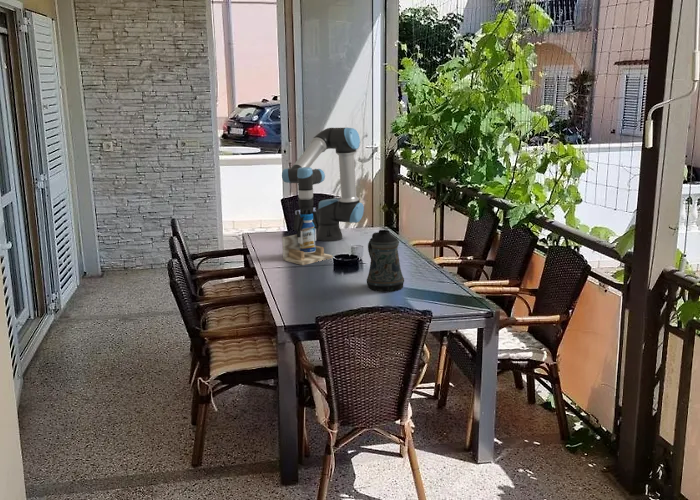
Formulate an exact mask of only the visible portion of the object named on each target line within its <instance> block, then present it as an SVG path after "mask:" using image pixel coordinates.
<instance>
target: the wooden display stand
mask: <svg viewBox="0 0 700 500" xmlns="http://www.w3.org/2000/svg"><path fill="white" fill-rule="evenodd" d="M281 241H282V242H281V243H282V260H283V261H286V262H289V263H292V264H297V265H300V266H305V265H309V264H313V263H317V262H318V261H319V262H321V261H322V260H323V261H326V259H327V260H331V259H333V254H329V253H325V249H324V248H325V247H323V246H318V245H315V248H316V251H315V252H313V253H304V252H303V251H300V243H298V237H297V234H292V235H288V236H287V235H286V236H282V237H281ZM330 258H331V259H330ZM323 261H322V262H323ZM319 262H318V263H319Z"/></svg>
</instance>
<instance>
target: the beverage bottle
mask: <svg viewBox="0 0 700 500" xmlns="http://www.w3.org/2000/svg"><path fill="white" fill-rule="evenodd" d="M303 216H304V218H303V220H304V222H303V225H302V229H301V231H302V236H303V244H300V251H303V252H304V253H313V252H315V251H316V248H315V246H316V241H315V229H314V228H315V225H314V223H313V222H312V220H313V217H314V216H313V214H309V215H302V214H300V217H301V218H302V217H303Z"/></svg>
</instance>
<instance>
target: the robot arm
mask: <svg viewBox="0 0 700 500" xmlns="http://www.w3.org/2000/svg"><path fill="white" fill-rule="evenodd" d="M360 143H361V138H360V134H359V132H358V131H357V129H355V128H354V127H328V128H325V129H323V130H321V131H319V132H318V133H316V134H315V135H314V136H313V137H312V139H311V141H310V144H309V146H307V148H306V149H305V150H304V152H302V154H301V155H300V157H298V159H297V160H296V161H295V162H294V163H293V165H292V166H291V167H290V168H289V167H288V168H284V169H283V170H282V172H281V178H282V179H281V180H282V181H283V182H284V183H285V184H286V183H289V184H297V192H298V193H297V197H298V201H297V202H298V206H299V208H298V210H294V219H293V220H294V221H293V228H292V229H293V231H296V235H297V237H298V243H300V244H303V236H302V231H301V229H302V225H303V222H304V220H303V218H304V216H303V217H302V218H301V217H300V214H302V215H309V214H313V220H312V222H313V223H314V225H315V228H314V229H315V242H316V241H317V240H318V241H323V242H334V241H340V240H342V239H343V233H342V230H341V227H340V223H350V224H355V223H359V222H360V221H361V220H362V218H363V217H364V211H365V208H364V207H365V206H364V204H363V203H362V202H360V198H359V197H358V196H357V185H356V184H357V183H356V170H355V169H356V168H355V167H356V166H355V154H356V153H357V150H358V149H360ZM330 149H333V150H335V154H337V156H338V164H339V165H338V167H339V168H338V169H339V180H340V181H339V182H340V194H341V195H340V196H341V197H340V198H330V199H329V198H328V199H323V200H320V201H319V202H318V207H314V189H313V187H314V185H318V184H320V183H323V181H324V180H325V179H326V178H325V177H326V175H325V174H326V173H325V171H324V170H323V169H322V168H314V169H313V168H312V165H313V163H315V161H316V160H317V159H318V158H319V157H320V155H321V154H322V153H325V152H326V151H327V150H330Z"/></svg>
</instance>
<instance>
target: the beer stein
mask: <svg viewBox="0 0 700 500" xmlns="http://www.w3.org/2000/svg"><path fill="white" fill-rule="evenodd" d="M398 246H400V241H399V240H398V238H397V237H396V236H394V235H393V234H391V233H390V231H389V230H387V229H380V230H378V232H374V233H372V235H371V237H370V238H369V242H368V243H367V251H368V255H369V258H370V264H369V270H368V274H367V278H366V285H367V288H368V290H370V291H374V292H378V293H391V292H397V291H402V289H403V288H404V283H405V278H404V275H403V272H402V269H401V263H400V257H399V248H398Z"/></svg>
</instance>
